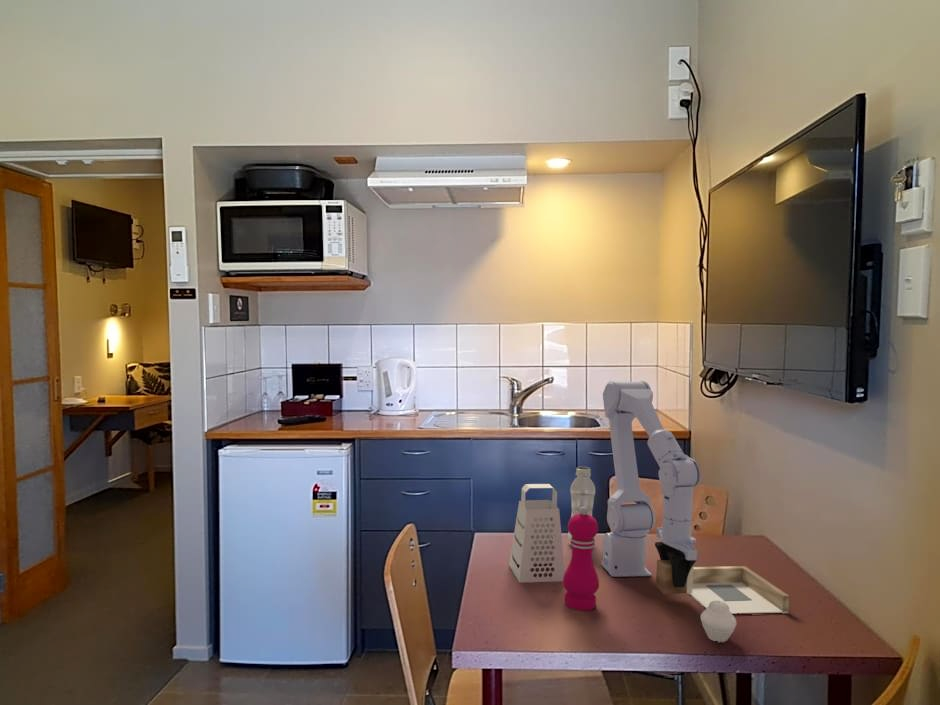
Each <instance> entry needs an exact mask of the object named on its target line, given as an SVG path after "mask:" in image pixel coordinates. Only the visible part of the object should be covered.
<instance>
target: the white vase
mask: <svg viewBox="0 0 940 705" xmlns="http://www.w3.org/2000/svg"><path fill="white" fill-rule="evenodd" d="M700 621H701V625H702V627H703V629H704V631H705V634H706V635H707V638H708V639H710V640H711V641H713V642H715V641H718V642H717V643H720V642H721V641H722V642H723V643H726V642H727V641H728V640H729V639H730V637H731V635H732V634H733V633H734V632H735V628H736V627H737V619H736V617H735V615H732V614H731V612H730V611H729V606H728V605H727V604H726V603H724V602H722V601H712V602H711V603H709V607H708V608H707V609H704V610H703V611H702V613H701V614H700ZM725 641H726V642H725ZM722 642H721V643H722Z"/></svg>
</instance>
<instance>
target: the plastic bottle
mask: <svg viewBox="0 0 940 705" xmlns="http://www.w3.org/2000/svg"><path fill="white" fill-rule="evenodd" d="M591 472H592V471H591V468H590V467H588V466H577V467H576V470H575V478H574V480H573V481H572V483H571V485H570V488H569V489H570V490H569V492H570V501H571V516H570V518H571V517H572V516H574V515H576V514H580V513H579V509H580V508H581V507H586V508H587V509H588V513H587V514H588V515H591V516H592V517H593V509H594V501H595V495H596V486H595V483H594V482H593V481H592V479H591V475H592V473H591ZM567 534H568V535H567V536H568V541H569V542H570V541H571V540H570V537H571V536H572V535H571V534H570V533H569V531H568V533H567Z"/></svg>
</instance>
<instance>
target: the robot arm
mask: <svg viewBox="0 0 940 705" xmlns="http://www.w3.org/2000/svg"><path fill="white" fill-rule="evenodd" d="M653 398H654V392H653V391H652V389H651V386H650V385H649V383H648V382H647V381H644V380H640V381H615V380H611V381H610V380H609V381H608V382H607V384H606V385H605V388H604V390H603V392H602V401H603V409H604V416H605V417H606V418H607V419H608V424H609V432H610V440H611V449H612V450H611V451H612V458H613V465H614V466H613V467H614V474H615V483H616V491H615V492H614V493H613V494H612V495H611V496H610V497H609V498H608V499H607V514H606V521H607V522H606V523H607V525H608V527H609V528H610V530H611V531H612V532H606V533H604V535H603V538H602V554H601V555H602V556H601V558H602V559H601V563H600V565H601V566H602V567H603V568H604V570H606V572H608V575H610V576H611V577H613V578H614V577H616V578H617V577H618V578H619V577H620V578H621V577H651V576H653V574H652V573H651V572H650V571H649V570H648V569H647V568H646V554H647V535H650V531H651V530H653V528H654V527H655V525H656V524H655V523H656V513H655V510H654V507H653V506H652V505H653V504H652V501H651V497H650V496H649V495H647V494H646V493H645V492H644V491H643V490H641V488H640V480H639V473H638V464H637V456H636V448H635V441H634V433H633V425H632V423H633V421H634V420H635V419H637V420H638V422H639V424H640V425H641V426H642V428H643V430H644V431H645V432H646V434H647V435H648V439H647V446H648V448H649V451H650V452H651V454H652V456H653V458H654V459H655V461H656V463H657V464H658V466H659V470H658V472H657V473H658V479H659V482H660V486H661V487H660V491H661V494H662V495H663V499H662V500H663V504H662V521H661V523H662V524H661V527H658V526H656V537H657V538H659V539H660V541H657V542H654V547H655V548H656V551H657V553H658V555H659V560H670V563H671V567H672V579H673V585H674V587H685V584H686V581H687V578H688V575H689V572H690V570H691V568H692V566H693V567H694V564H695V563H696V562H697V561H698V550H697V549H696V548H695V545H694V544H696V543H697V539H696V538H695V537H694V536H692V519H693V500H694V499H693V497H694V487H697V485H699V483H700V480H701V470H700V467H699V465H698V462H697V461H696V460H695V459H694V458H692V457H689V455H687V454H685V453H684V451H683V449H682V448H681V447H680V445H679V443H678V441H677V439H676V437H675V435H674V434H673V433H672V432H671V431H669V430H666V429H664V427H663V424H662V422H661V420H660V418H659V416H658V414H657V411H656V409H655V406H654V405H653V400H654V399H653ZM624 503H625V504H624ZM627 503H629V504H627Z"/></svg>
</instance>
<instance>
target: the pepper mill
mask: <svg viewBox="0 0 940 705" xmlns="http://www.w3.org/2000/svg"><path fill="white" fill-rule="evenodd" d="M579 513H580V514H576V515H574V516H572V517H571V516H570V518H569V520H568V523H567V530H568V532H569V533H570V534H571V535H572V536H571V537H570V540H571V541H569V545H570V546H571V557H570V562H569V564H568V565H567V567H566V569H565V574H564V577H563V581H562V584H563V588H564V589H565V591H566V592H565V593H564V604H565V605H566V606H567V607H568V608H570V609H573V610H577V611H590V610H593V609H595V608H596V605H597V603H596V602H597V597H596V593H597V591H598V590H599V588H600V582H599V581H600V580H599V576H598V572H597V570H596V568H595V565H594V561H593V548H595V546H596V544H595V542H596V539H595V537H596V536H597V534H598V532H599V524H598V522H597V519H596V518H595V517H594V516H593V515H592V516H591V515H588V514H587V513H588V509H587V508H586V507H581V508H580V509H579Z"/></svg>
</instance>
